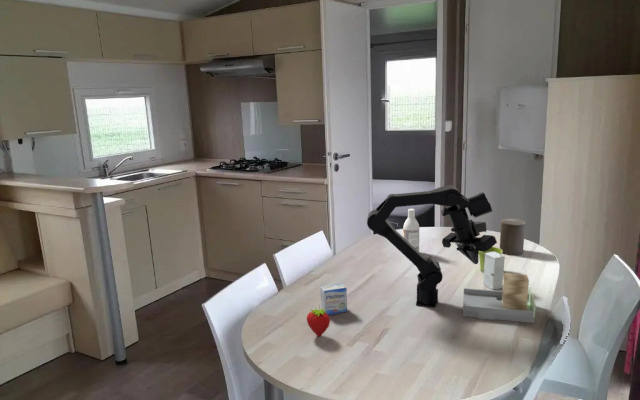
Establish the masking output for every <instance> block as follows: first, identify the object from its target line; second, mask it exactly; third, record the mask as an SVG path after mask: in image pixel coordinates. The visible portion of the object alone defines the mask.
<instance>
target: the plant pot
mask: <svg viewBox="0 0 640 400" xmlns="http://www.w3.org/2000/svg"><path fill="white" fill-rule="evenodd" d="M488 252H496V253H498V254H500V255H502V254H503V253H502V252H503V251H502V250H501V249H500V247H495V246H492V247H491V248H490V249H489V250H488V251H479V254H478V260H479V266H480V267H479V269H480V271H481V272H482V273H484V262H485V253H488Z"/></svg>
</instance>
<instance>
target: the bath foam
mask: <svg viewBox="0 0 640 400" xmlns="http://www.w3.org/2000/svg"><path fill="white" fill-rule="evenodd" d="M415 213H416V210H415V208H408V209H407V218H406V219H405V222H404V223H403V228H402V230H403V232H402V233H403V235H402V237H404V238H405V239H406V240H407V241H408V242H409V243H410V244H411V245H412V246H413V247H414V248H415V249H416V250H417V251H418V252H419V253H420V225H419V224H420V223H419V222H418V221H417V218H416V216H415V215H416V214H415Z"/></svg>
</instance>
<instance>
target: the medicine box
mask: <svg viewBox="0 0 640 400" xmlns="http://www.w3.org/2000/svg"><path fill="white" fill-rule="evenodd" d="M347 290H348V288H347V287H346V286H345V284H344V283H338V284H329V285H324V286H320V309H324V310H323V311H325V312H327V313H326V314H327V315H328V316H331V315H335V314H342V313H346V312H348V294H347V293H348V292H347Z"/></svg>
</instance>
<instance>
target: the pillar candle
mask: <svg viewBox="0 0 640 400" xmlns="http://www.w3.org/2000/svg"><path fill="white" fill-rule="evenodd" d="M525 230H526V222H525V221H524V220H522V219H517V218H504V219H501V222H500V234H499V248H500V249H501V250H502V251H503V252H502V253H501V254H503V255H506V256H507V255H508V256H521V255H523V254H524V244H525V243H524V242H525Z"/></svg>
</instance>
